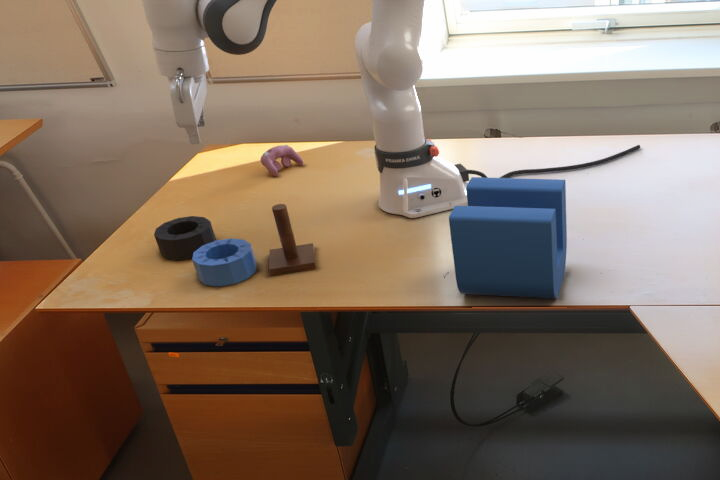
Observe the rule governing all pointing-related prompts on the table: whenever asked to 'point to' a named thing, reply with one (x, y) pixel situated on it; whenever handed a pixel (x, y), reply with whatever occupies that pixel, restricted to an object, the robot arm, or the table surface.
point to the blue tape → (224, 262)
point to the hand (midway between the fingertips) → (198, 133)
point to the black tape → (183, 237)
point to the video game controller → (279, 152)
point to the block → (510, 237)
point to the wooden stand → (289, 247)
